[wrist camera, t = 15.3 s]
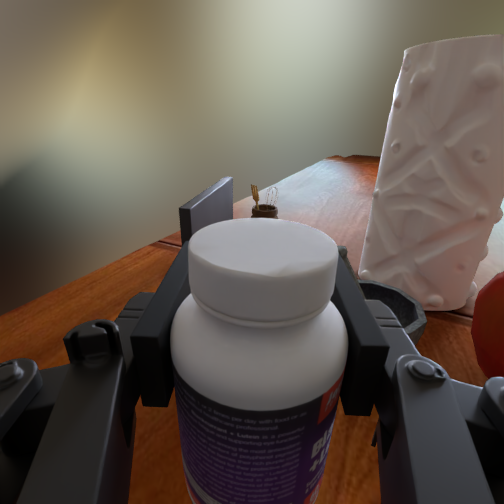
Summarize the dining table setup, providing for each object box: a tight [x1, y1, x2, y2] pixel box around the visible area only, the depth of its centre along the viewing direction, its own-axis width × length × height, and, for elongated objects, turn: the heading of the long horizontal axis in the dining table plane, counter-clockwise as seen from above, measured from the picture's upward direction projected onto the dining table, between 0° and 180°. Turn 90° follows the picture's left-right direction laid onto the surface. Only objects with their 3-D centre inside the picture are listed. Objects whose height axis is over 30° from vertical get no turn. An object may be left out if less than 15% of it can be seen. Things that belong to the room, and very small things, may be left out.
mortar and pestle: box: [337, 246, 427, 345], centre depth 32 cm, size 11×9×12 cm
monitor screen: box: [179, 177, 233, 246], centre depth 38 cm, size 1×16×11 cm, turn 168°
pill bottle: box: [170, 218, 349, 504], centre depth 10 cm, size 5×5×10 cm
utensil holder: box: [251, 185, 278, 219], centre depth 61 cm, size 6×6×12 cm
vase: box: [358, 34, 504, 311], centre depth 42 cm, size 17×16×32 cm
